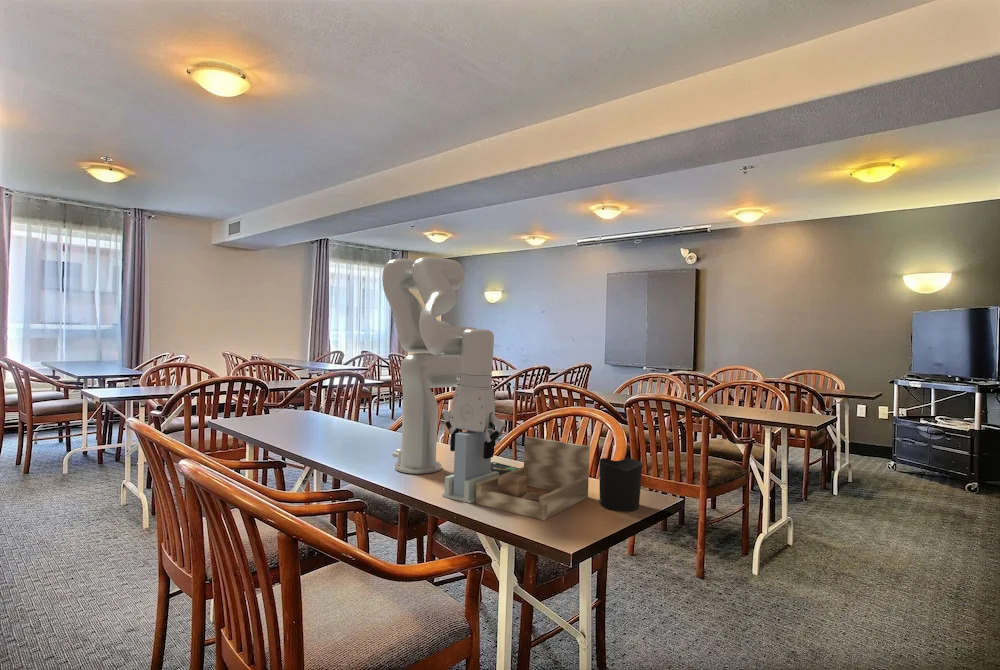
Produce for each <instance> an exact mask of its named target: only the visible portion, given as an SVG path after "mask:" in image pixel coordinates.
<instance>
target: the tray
mask: <svg viewBox="0 0 1000 670" xmlns="http://www.w3.org/2000/svg"><path fill="white" fill-rule="evenodd" d="M590 447H591V446H590V445H583V444H579V443H578V444H577V443H572V442H564V441H560V440H559V441H558V440H552V439H545V438H539V437H535V436H534V437H532V436H525V437H524V451H523V452H524V453H523V454H524V455H523V467H518V468H519V469H516V470H513V471H510V472H507V473H510V474H517V475H524V476H527V487H532V488H536V489H542V490H547V491H549V492H547V493H546V494H545V495H543V496H541V497H539V502H536V501H531V500H527V499H523V498H518V497H514V496H509V495H505V494H501V493H497V491H498V478H499V477H501V476H503V475H504V474H506V473H504V474H502V475H499V476H496V477H493V478H490V479H487V480H484V481H481V482H478V483H477V488H476V501H475V504H477V505H480V506H485V507H489V508H494V509H497V510H502V511H505V512H510V513H514V514H516V515H517V514H518V515H522V516H525V517H530V518H534V519H537V520H542V521H545V520H547V519H549V518H551V517H553V516H554V515H556V514H558V513H560V512H562V511H564V510H566V509H568V508H570V507H572V506H574V505H575V504H577V503H580V502H581V501H583V500H585V499H587V498H589V479H590V477H589V475H590V474H589V473H590V453H591V452H590V450H591V448H590Z"/></svg>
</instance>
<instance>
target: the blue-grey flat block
mask: <svg viewBox="0 0 1000 670" xmlns="http://www.w3.org/2000/svg"><path fill="white" fill-rule="evenodd" d="M485 441H487V440H486V439H485V437H484V435H483V433H476V432H471V431H466V430H464V431H461V432H460V431H459V433H455V451H454V461H453V463H454V464H453V474H454V486H453V495H456V496H460V497H464V482H465V481H467V480H470V479H473V478H476V477H479V476H482V475H485V474H488V473H490V469H491V461H492V458H488V459H484V458H483V452H484V442H485Z"/></svg>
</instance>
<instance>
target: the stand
mask: <svg viewBox="0 0 1000 670" xmlns="http://www.w3.org/2000/svg"><path fill="white" fill-rule="evenodd" d="M496 476H499V472H496V471H494V472H491V473H488V474H485V475H482V476H479V477H476V478H473V479H470V480H467V481H465V482H464V497H460V496H456V495H453V486H454V473H453V474H450V475H447V476H445V477H444V493H442V494H441V495H442V498H446V499H447V498H448V499H451V500H456V501H458V500H459V502H462V501H463V502H464V503H466V502H467V504H473V503H474V502H475V503H476V488H477V483H478V482H481V481H484V480H487V479H490V478H493V477H496Z"/></svg>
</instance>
